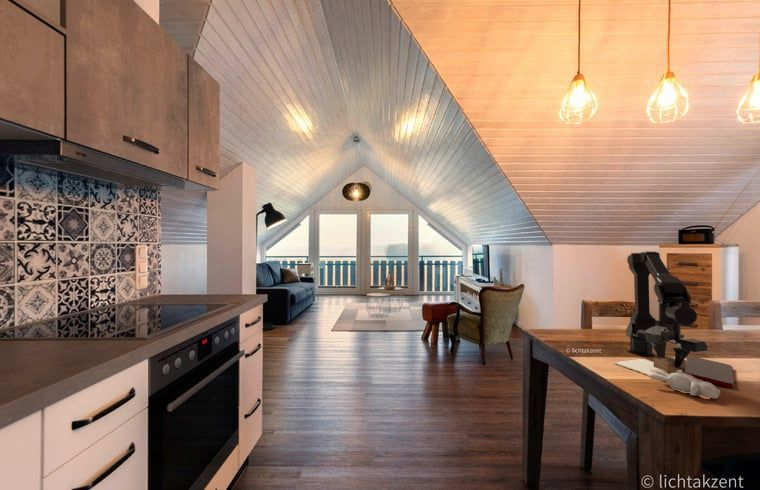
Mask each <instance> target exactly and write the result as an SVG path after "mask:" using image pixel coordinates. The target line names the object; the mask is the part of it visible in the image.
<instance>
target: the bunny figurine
mask: <svg viewBox="0 0 760 490" xmlns="http://www.w3.org/2000/svg"><path fill="white" fill-rule="evenodd" d="M657 373H658V374H660V375H663V376H660V375H657V374H652V373H651V375H650V377H649V378H650V379H652V380H655V381H661V382H667V383H668V385H669V386H670V389H671V388H672V389H671V390H673V389H676V390H680V391H684V392H690V394H689V395H690V396H697V394H698V395H702V396H705V397H710V398H712V399H715V400H717V399H718V398H719V397H720V396H721V390H720V389H718V388H717V387H716V386H715V385H714V383H710V382H706V381H702V380H699V379H696V378H694V377H693V376H692V375H689V374H687V373H683V372H675V373H671V374H669V373H667V372H665V371H663V370H657ZM664 376H665V377H664Z"/></svg>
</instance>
